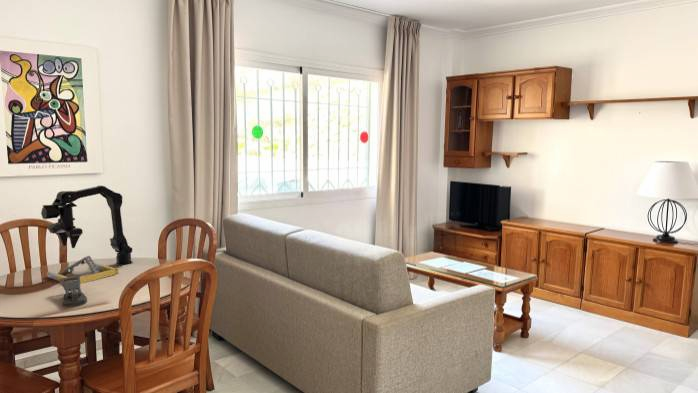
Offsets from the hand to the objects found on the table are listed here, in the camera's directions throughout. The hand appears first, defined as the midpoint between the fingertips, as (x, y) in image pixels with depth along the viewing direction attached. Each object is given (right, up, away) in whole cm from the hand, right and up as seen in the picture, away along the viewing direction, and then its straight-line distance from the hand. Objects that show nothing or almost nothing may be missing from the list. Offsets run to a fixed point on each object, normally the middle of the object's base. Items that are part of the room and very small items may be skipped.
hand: (68, 247), depth 246 cm
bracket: (+2, -15, +4) cm, 16 cm away
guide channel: (+6, -15, +2) cm, 16 cm away
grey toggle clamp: (+21, -19, -34) cm, 44 cm away
